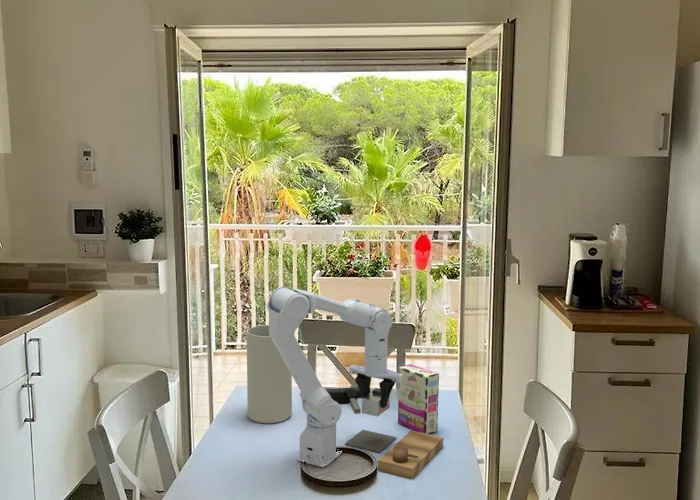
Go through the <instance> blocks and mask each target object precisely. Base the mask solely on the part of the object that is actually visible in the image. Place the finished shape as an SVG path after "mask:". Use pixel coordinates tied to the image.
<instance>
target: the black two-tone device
mask: <svg viewBox="0 0 700 500" xmlns="http://www.w3.org/2000/svg"><path fill="white" fill-rule="evenodd" d="M324 389H325V390H326V391H327V392H328V393H329V395H330V396H331V398H332V399H333V400H334V401H336V402H337V403H339V405H349V403H350V407H351V408H352V410H353V412H354V414H355V415H356V414H362V408H361V407H360V405H359V403H358V398H362V395H361V392H360V389H359V387H358V386H357V387H340V388H337V387H336V388H324ZM371 392H372V389H371V388H370V393H371Z"/></svg>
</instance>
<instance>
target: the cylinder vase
mask: <svg viewBox="0 0 700 500" xmlns="http://www.w3.org/2000/svg"><path fill="white" fill-rule="evenodd" d="M246 379H247V380H246V381H247V382H246V385H247V386H246V388H247V416H248V418H249V419H250V420H251V421H253V422H255V423H258V424H259V423H260V424H277V423H280V422H285V421H286V420H288V419H289V418H291V416H292V413H293V399H292V397H293V394H292V393H293V392H292V391H293V390H292V389H293V385H292V381H293V376H292V375H291V373H290V371H289V369H288V368H287V366H286V364H285V362H284V360H283V359H282V357H281V355H280V353H279V352H278V350H277V348H276V346H275V344H274V343H273V341H272V339H271V337H270V335H269V324H264V325H256V326H252V327H250V328H249V327H248V328H247V330H246Z"/></svg>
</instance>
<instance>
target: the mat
mask: <svg viewBox="0 0 700 500" xmlns="http://www.w3.org/2000/svg"><path fill="white" fill-rule="evenodd" d="M396 440H397V436H393V435H388V434H383V433H380V432H374V431H371V430H367V429H362V430H360V431H359V432H358V433H357V434H355V435H354V436H352V437H351V438H349V440H347V441H346V442H345V443H344V445H345V446H347V447H353V448H357V449H361V450H364V451H369V452H374V453H376V454H377V453H378V454H381V453H382V452H384V450H386V448H388V447H389V446H390V445H391V444H392V443H393V442H395V441H396Z"/></svg>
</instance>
